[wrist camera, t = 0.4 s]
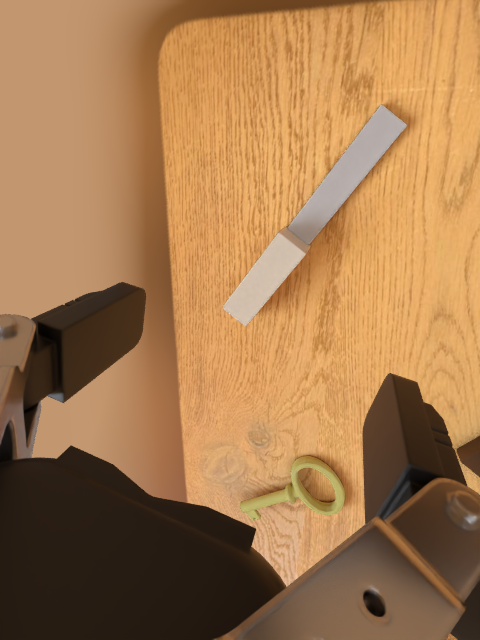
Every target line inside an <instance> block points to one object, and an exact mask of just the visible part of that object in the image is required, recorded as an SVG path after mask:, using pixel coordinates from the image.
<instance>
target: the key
mask: <svg viewBox="0 0 480 640" xmlns="http://www.w3.org/2000/svg"><path fill="white" fill-rule="evenodd" d="M303 468H313V469H315V470H317V471H319V472H320V473H322V474H323V475H324V476H326V477H327V478H328V480H329V481H330V482H331V484H332V486H333V488H334V491H335V496H336V499H335V501H333V502H330V503H324V502H321V501H318V500H317V499H315V498H314V497H313V496H312V495H310V494H309V492H308V491H307V490H306V489H305V487H304V486H303V484H302V483H301V481H300V479H299V477H298V471H299V470H301V469H303ZM291 481H292V484H293V486H292V485H291V484H287V485H286V487H285V489H283V490H279V491H276V492H272V493H269V494H266V495H262V496H259V497H255V498H252V499H248V500H245V501H242V502H241V503H240V508H241V511H242V512H243V513H245V512H246V513H247V514H248V516H249V517H250V518H251V520H252V521H254V519H257V520H258V519H260V518H261V515H260V514H259V513H258V511H257V510H256V509H260V508H263V507H267V506H271V505H274V504H278V503H281V502H285V501H289V502H290V503H295V502H296V499H297V498H300V499H301V500H302V501H303V502H304V504H305V505H306V506H307V507H309V508H310V509H311V510H313V511H314V512H316V513H318V514H321V515H334V514H337V513H338V512H339V511H340V510H341V509H342V508H343V504H344V501H345V491H344V487H343V485H342V483H341V481H340V479H339V478H338V477H337V475H336V474H335V472H334V471H333V470H332V469H331V468H330V467H329V466H328V465H327V464H325V463H324V462H323V461H321V460H319V459H317V458H315V457H312V456H303V457H300V458H298V459H296V460H295V462H294V463H293V465H292V468H291Z"/></svg>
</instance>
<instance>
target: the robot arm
mask: <svg viewBox="0 0 480 640" xmlns="http://www.w3.org/2000/svg"><path fill="white" fill-rule="evenodd" d="M145 301H146V293H145V290H143V289H142V288H139V287H136V286H133V285H130V284H127V283H124V282H121V283H118V284H116V285H114V286H112V287H110V288H107V289H105V290H103V291H98V292H93V293H88V294H85V295H83V296H81V297H79V298H77V299H75V301H74V300H72V301H70V302H68V303H65V305H61V306H58V307H56V308H54V309H52V310H50V311H47V312H45V313H43V314H41V315H38V316H36V317H34V318H32V319H29V318H27V317H24V316H20V315H10V314H8V315H7V314H5V315H0V640H446V638H447V637H448V635H449V634H450V633H451V634H452V635H453V636H454V637H456V638H457V639H458V640H480V495H479V494H478V493H476V492H475V491H474V490H472V489H471V488H469V487H468V486H467V484H466V481H465V478H464V475H463V472H462V470H461V467H460V464H459V461H458V459H457V456H456V453H455V450H454V448H452V446H453V445H452V442H451V439H450V437H449V436H448V431H447V428H446V425H445V423H444V420H443V418H442V417H441V416H440V415H439V414H438V412H437V411H436V410H435V409H434V408H433V406H432V405H430V404H427V403H424V402H423V399H422V396H421V393H420V389H419V386H418V383H417V382H415V381H412V380H409V379H406V378H403V377H400V376H397V375H394V374H392V373H389V374H388V375H387V376H386V378H385V379H384V381H383V383H382V385H381V387H380V389H379V391H378V393H377V395H376V397H375V399H374V401H373V403H372V405H371V407H370V409H369V411H368V413H367V416H366V419H365V422H364V426H363V465H364V498H365V525H364V526H363V527H362V528H360V529H359V530H358V531H357V532H355V533H354V534H353V535H352V536H350V537H349V538H348V539H347V540H345V541H344V542H343V543H342V544H340V545H339V546H338V547H337V548H335V549H334V550H333V551H332V552H330V553H329V554H328V555H326V556H325V557H324V558H323V559H321V560H320V561H319V562H318V563H316V564H315V565H314V566H313V567H311V568H310V569H309V570H308V571H306V572H305V573H304V574H303V575H301V576H300V577H299V578H298V579H296V580H295V581H294V582H293V583H291V584H290V585H289V586H288V587H286V585H285V584H284V582H283V581H282V579H281V577H280V576H279V575H278V574H277V572H276V571H275V570H274V569H273V567H272V566H271V565H270V564H269V563H268V562H267V561H266V560H265V559H264V557H263V556H262V555H261V554H260V553H258V552H257V551H256V550H255V549H254V548H252V547H251V546H252V542H253V539H254V535H255V531H256V529H255V528H253V527H251V526H249V525H247V524H244V523H242V522H240V521H238V520H235V519H233V518H231V517H229V516H227V515H224V514H222V513H220V512H218V511H215V510H213V509H211V508H209V507H206V506H201V505H195V504H189V503H184V502H178V501H173V500H167V499H162V498H156V497H153V496H151V495H149V494H147V493H146V492H145V491H144V490H143V489H141V488H140V487H139V486H138V485H137V484H135V483H134V482H133V481H132V480H131V479H130V478H128V477H127V476H126V475H125V474H124V473H122V472H121V471H120V470H119V469H118V468H117V467H115V466H114V465H113V464H111V463H109V462H107V461H104V460H102V459H100V458H98V457H95V456H93V455H91V454H89V453H87V452H84V451H82V450H80V449H78V448H75V447H73V446H70V447H69V448H68V449H67V450H66V451H65V452H64V453H62V454H61V455H60V456H59V457H58V458H57V459H55V458H31V457H32V451H33V446H34V441H35V437H36V432H37V427H38V421H39V417H40V412H41V400H42V399H43V398H45V397H46V396H48V397H50V398H53V399H55V400H57V401H60V402H62V403H64V402H65V401H67V400H68V399H69V398H71V397H72V396H73V395H74V394H76V393H77V392H78V391H79V390H81V389H82V388H83V387H84V386H86V385H87V384H88V383H90V382H91V381H92V380H93V379H95V378H96V377H97V376H99V375H100V374H101V373H102V372H104V371H105V370H106V369H107V368H109V367H110V366H111V365H113V364H114V363H115V362H116V361H117V360H119V359H120V358H121V357H123V356H124V355H125V354H127V353H128V352H129V351H130V350H132V349H133V348H134V347H135V346H136V345H137V343H138V342H139V340H140V338H141V335H142V331H143V323H144V312H145Z"/></svg>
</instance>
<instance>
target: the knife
mask: <svg viewBox="0 0 480 640" xmlns="http://www.w3.org/2000/svg"><path fill="white" fill-rule="evenodd" d="M406 127H407V124H406V123H405V122H403V121H402V120H401V119H400V118H398V117H397V116H396V115H395V114H393V113H392V112H391V111H390V110H389V109H387V108H386V107H385V106H384V105H382V104H381V105H380V106H379V108H378V109H377V110H376V112H375V113H374V114H373V116H372V117H371V118H370V120H369V121H368V122H367V124H366V125H365V126H364V128H363V129H362V130H361V131H360V133H359V134H358V135H357V137H356V138H355V139H354V141H353V142H352V143H351V145H350V146H349V147H348V149H347V150H346V151H345V153H344V154H343V155H342V156H341V158H340V159H339V160H338V162H337V163H336V164H335V166H334V167H333V168H332V170H331V171H330V172H329V174H328V175H327V176H326V178H325V179H324V180H323V182H322V183H321V184H320V185H319V187H318V188H317V189H316V191H315V192H314V193H313V195H312V196H311V197H310V199H309V200H308V201H307V203H306V204H305V205H304V207H303V208H302V209H301V210H300V212H299V213H298V214H297V216H296V217H295V218H294V220H293V221H292V222H291V224H290V225H289V226H288V227H287V226H286V227H284V228H283V229H282V230H281V231H280V232H278V234H277V235H276V236H275V238H274V239H273V240H272V242H271V243H270V244H269V246H268V247H267V248H266V250H265V251H264V252H263V254H262V255H261V256H260V258H259V259H258V260H257V262H256V263H255V264H254V266H253V267H252V268H251V270H250V271H249V272H248V274H247V275H246V276H245V278H244V279H243V280H242V282H241V283H240V284H239V286H238V287H237V288H236V290H235V291H234V292H233V294H232V295H231V296H230V298H229V299H228V300H227V302H226V303H225V304H224V306H223V307H222V308H223V309H224V310H225V311H227V312H228V313H229V314H230V315H232V316H233V317H234V318H235V319H237V320H238V321H239V322H240V323H242V324H243V325H244V326H247V325H248V324H249V323H250V321H251V320H252V319H253V318H254V317H255V315H256V314H257V313H258V312H259V311H260V309H261V308H262V307H263V306H264V305H265V303H266V302H267V301H268V300H269V298H270V297H271V296H272V295H273V294H274V292H275V291H276V290H277V289H278V288H279V286H280V285H281V284H282V283H283V282H284V280H285V279H286V278H287V277H288V276H289V274H290V273H291V272H292V271H293V270H294V268H295V267H296V266H297V265H298V264H299V262H300V261H301V260H302V259H303V258H304V256H305V255H306V254H307V252H308V250H309V249H310V247H311V246H310V243H311V242H312V241H313V240H314V238H315V237H316V236H317V235H318V234H319V232H320V231H321V230H322V229H323V228H324V226H325V225H326V224H327V223H328V221H329V220H330V219H331V218H332V217H333V215H334V214H335V213H336V212H337V210H338V209H339V208H340V207H341V206H342V204H343V203H344V202H345V201H346V200H347V198H348V197H349V196H350V195H351V193H352V192H353V191H354V190H355V189H356V187H357V186H358V185H359V184H360V183H361V181H362V180H363V179H364V178H365V176H366V175H367V174H368V173H369V172H370V170H371V169H372V168H373V167H374V166H375V164H376V163H377V162H378V161H379V159H380V158H381V157H382V156H383V155H384V153H385V152H386V151H387V150H388V148H389V147H390V146H391V145H392V144H393V142H394V141H395V140H396V139H397V138H398V136H399V135H400V134H401V133H402V131H403V130H404V129H405V128H406Z"/></svg>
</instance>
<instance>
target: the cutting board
mask: <svg viewBox="0 0 480 640" xmlns="http://www.w3.org/2000/svg"><path fill="white" fill-rule="evenodd" d="M457 453H458V455H459V458H460V461H461V462H462V463H463V464H464V465H465V466H467V467H468V468H469V469H470V470H472V471H473V472H474V473H475V474H477V475H478V476H479V477H480V436H479V437H477V438H476V439H474V440H472V441H470V442H469V443H467V444H465V445H463V446H462V447H460V448H458V449H457Z"/></svg>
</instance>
